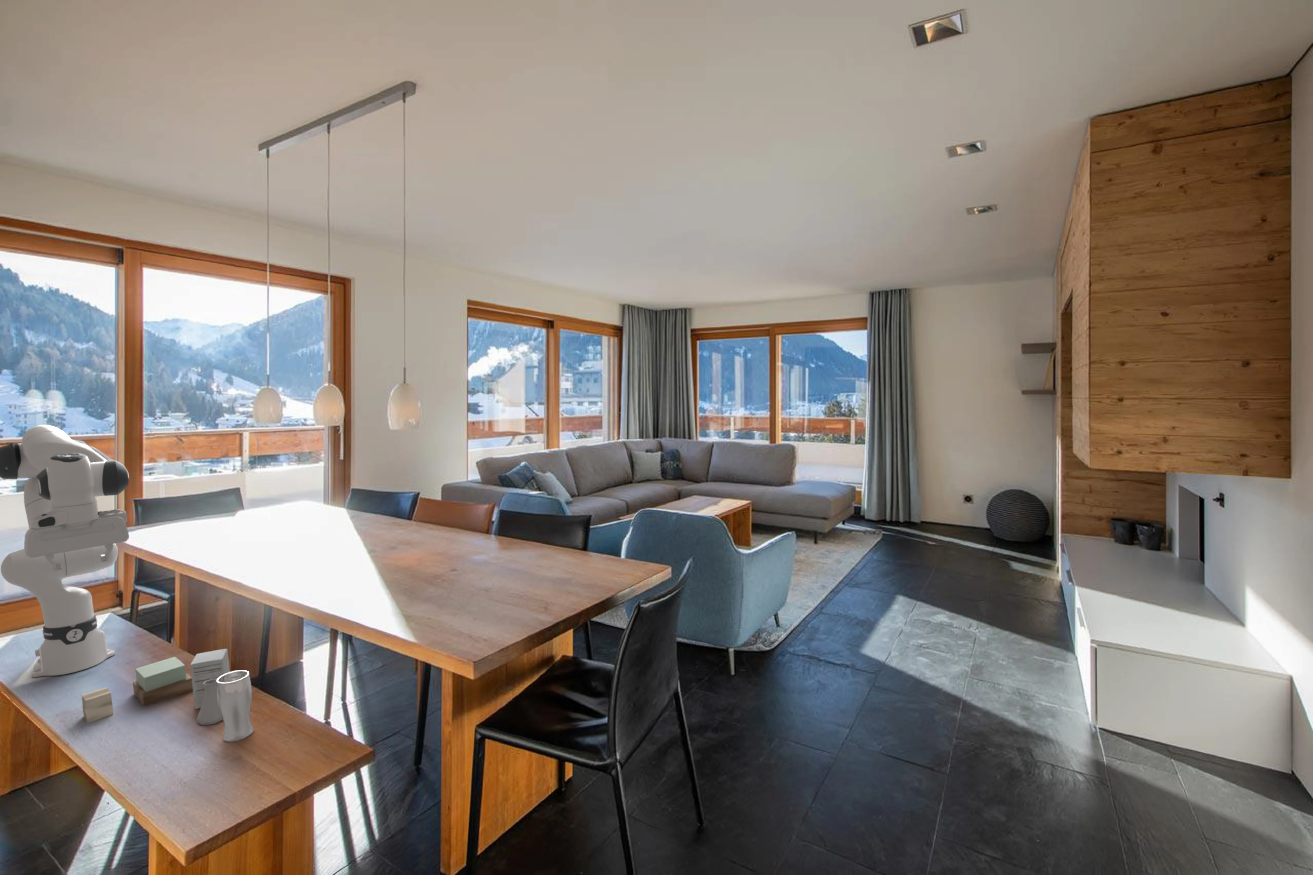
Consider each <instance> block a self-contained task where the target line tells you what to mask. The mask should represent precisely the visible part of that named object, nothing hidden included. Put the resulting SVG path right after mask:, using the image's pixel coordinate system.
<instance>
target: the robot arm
mask: <svg viewBox="0 0 1313 875" xmlns="http://www.w3.org/2000/svg"><path fill="white" fill-rule="evenodd" d="M21 438H22V439H21V443H16V442H15V443H13V442H9V444H6V445H3V446H0V478H2V479H3V480H17V479H27V480H26V482H25V483H24V489H23V504H24V510H25V514H26V519H27V524H28V530H26V533H25V535H24V542H23V543H24V544H23V545H24V548H22V549H20V550H17V551H12V552H9V553H8V554H7V555H6V556H5V557H4V559H3V560H2V562H1V564H0V574H1V576H2V577H3V578H4V580H5V581H6V582H8V583H9V584H11V585H13V586H16V587H19V588H23V589H24V590H27V591H29V592H30V593H31V594H32V595H33V596H34V597H35V598H36V599H37V601H38V603H39V605H40V608H41V612H42V617H43V618H42V619H43V622H44V623H43V624H44V625H43V627H42V634H43V639H44V640H43V642H42V643H41V644H40V647H39V648H35V650H34V654H35V655H34V656H35V657H37V659H36V662H35V664H34V668H33V671H32V673H31V677H32V678H39V677H44V676H50V677H51V676H61V675H67V674H71V673H76V672H79V671H80V672H81V671H83V670H86V669H89V668H92V667H94V666H96V665H99V664H101V663H102V662H104V661H106V659H108V658H110V657H112V656H115V655H116V652H115V650H113V649H110V648H108V647H107V640H106V635H105V631H103V630H101V629H99V628H98V620H97V616H96V615H95V613H94V612H95V611H94V605H93V597H92V593H91V592H90V591H89V590H87V589H86V588H82V587H80V586H79V587H77V586H72V585H66V584H63V581H62V580H63V579H66V578H70V577H71V578H72V577H75V576H76V577H77V576H80V575H86V574H90V573H95V572H99V571H101V570H104V569H107V568H110V567H112V566H113V565H114V564H115V563H116V561H117V559H118V557H119V548H118V545H117V544H120V543H125V542H127V541H128V540H129V538H130V535H129V529H128V526H127V524H126V523H127V522H128V520H129V518H128V513H127V512H126V511H125V510H123V509H118V508H116V509H111V510H101V511H99V510H98V501H97V497H103V496H105V497H109V496H118V495H120V494H121V493H122V492H123V491H125V490H126V489H127V488H128V487H129V484H130V476H129V472H128V469H127V468H126V466H125V465H124V464H123V463H121V462H120V461H118V460H116V459H112V458H111V457H109V456H108V455H106V454H105V453H104V452H102V451H101V450H99V448H96V447H94V446H91V445H88V444H87V443H86V442H85V441H83V440H78V439H71V438H70V436H69V435H68V434H67V433H66V432H64V431H63V430H62V429H60V428H59V427H56V426H54V425H49V424H39V425H35V426H33V427H31V428H29V429H28V430H26V432H25V433H24V434H23V435H22V437H21Z"/></svg>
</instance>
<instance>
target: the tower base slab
mask: <svg viewBox="0 0 1313 875" xmlns="http://www.w3.org/2000/svg"><path fill="white" fill-rule="evenodd" d="M132 686H133V695H134V696H135V697H136V698H137V699H138V701H139V702H140V703H141V705H142V706H143V707H148V706H150V705H153V704H156V703H159V702H162V701H165V700H168V699H171V698H174V697H177V696H179V695H183V694H186V693H189V692H193V687H192V677H191V675H190V674H189V672H187V671H186V679H184V680H181V681H178V682H175V683H172V684H169V685H165V686H162V687H159V688H156V689H153V690H150V691H147V692H146V691H145V690H144V689H143V688H142V687H141V686H140V685H139V684H138V683H137V680H136V681H133V682H132Z"/></svg>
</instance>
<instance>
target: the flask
mask: <svg viewBox="0 0 1313 875" xmlns="http://www.w3.org/2000/svg"><path fill="white" fill-rule="evenodd" d="M203 685H204V687H205V693H204V699H203V702H202V705H201V708H199V712H198V715H197V717H196V720H195V722H196V724H199V725H201V726H208V725H209V726H210V725H215V724H217V723H219V722H221V721H222V722H223V718H222V715H221V712H220V709H219V706H218V701H217V679H210V680H207V681H205V682H204V683H203Z"/></svg>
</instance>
